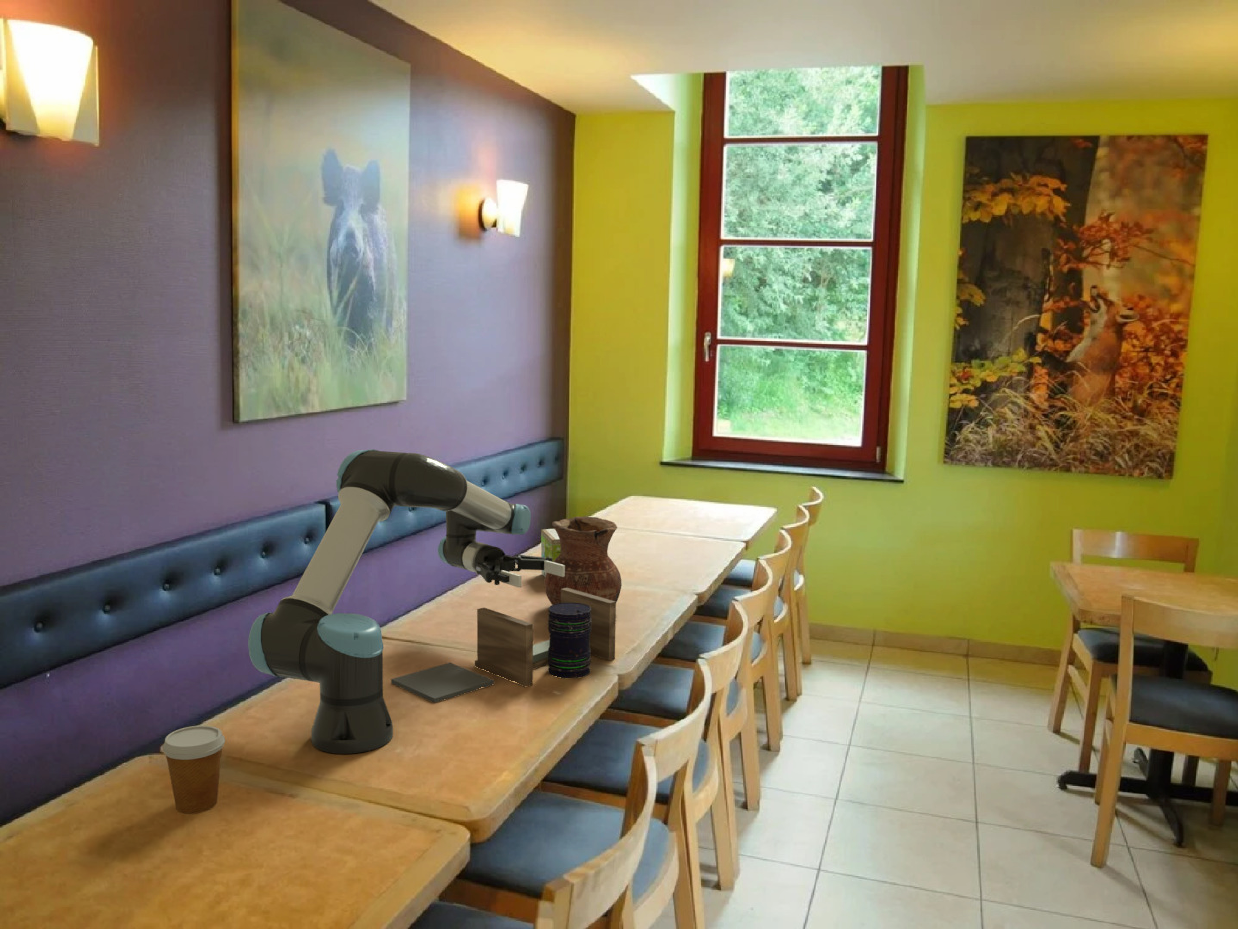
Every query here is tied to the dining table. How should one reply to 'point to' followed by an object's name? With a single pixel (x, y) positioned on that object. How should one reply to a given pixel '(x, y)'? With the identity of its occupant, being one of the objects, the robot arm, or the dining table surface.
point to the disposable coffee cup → (194, 766)
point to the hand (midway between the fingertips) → (542, 576)
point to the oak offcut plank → (540, 663)
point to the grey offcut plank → (540, 651)
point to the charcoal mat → (442, 682)
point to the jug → (584, 559)
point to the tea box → (550, 545)
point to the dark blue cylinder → (569, 640)
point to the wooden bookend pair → (511, 639)
